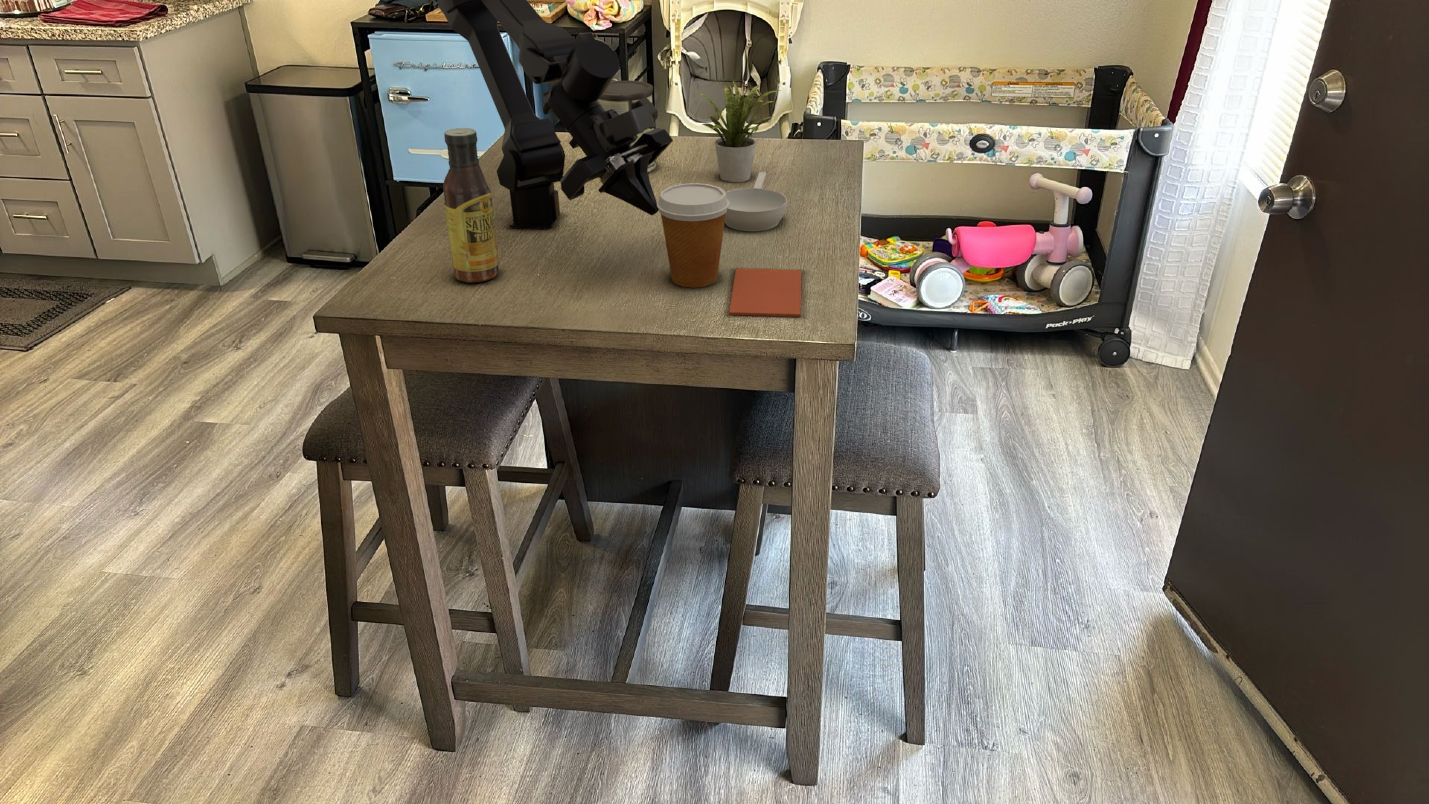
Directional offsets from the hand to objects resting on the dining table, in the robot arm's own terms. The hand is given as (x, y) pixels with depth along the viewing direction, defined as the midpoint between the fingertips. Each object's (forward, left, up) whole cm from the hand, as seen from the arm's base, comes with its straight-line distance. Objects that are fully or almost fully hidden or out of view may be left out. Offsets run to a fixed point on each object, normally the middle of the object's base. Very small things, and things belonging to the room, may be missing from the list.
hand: (655, 212), depth 133 cm
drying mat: (+15, -7, -8) cm, 19 cm away
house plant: (+9, +40, -8) cm, 42 cm away
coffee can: (-12, +45, -8) cm, 47 cm away
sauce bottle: (-25, -4, -8) cm, 26 cm away
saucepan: (+12, +23, -8) cm, 28 cm away
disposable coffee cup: (+5, -3, -8) cm, 10 cm away
